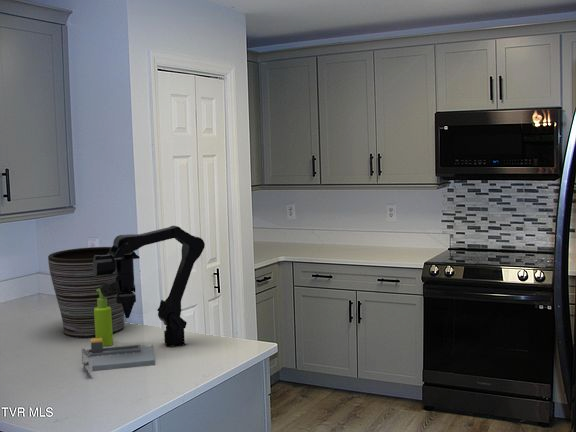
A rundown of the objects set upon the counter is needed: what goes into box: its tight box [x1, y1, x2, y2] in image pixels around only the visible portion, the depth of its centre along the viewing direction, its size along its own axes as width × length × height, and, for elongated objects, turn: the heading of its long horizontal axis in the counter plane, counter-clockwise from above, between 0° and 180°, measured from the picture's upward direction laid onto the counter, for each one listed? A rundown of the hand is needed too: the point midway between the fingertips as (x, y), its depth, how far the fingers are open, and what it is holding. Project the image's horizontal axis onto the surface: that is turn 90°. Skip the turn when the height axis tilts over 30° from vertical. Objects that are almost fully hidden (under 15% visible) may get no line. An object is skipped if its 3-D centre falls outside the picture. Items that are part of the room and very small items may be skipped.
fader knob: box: [90, 338, 104, 353], centre depth 223 cm, size 4×3×4 cm
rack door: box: [81, 349, 94, 374], centre depth 207 cm, size 10×2×4 cm, turn 28°
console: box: [81, 344, 156, 372], centre depth 219 cm, size 22×16×6 cm
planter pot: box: [47, 246, 130, 339], centre depth 256 cm, size 30×30×30 cm
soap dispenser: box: [94, 289, 114, 347], centre depth 237 cm, size 6×7×20 cm
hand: (127, 317), depth 227 cm, fingers closed
